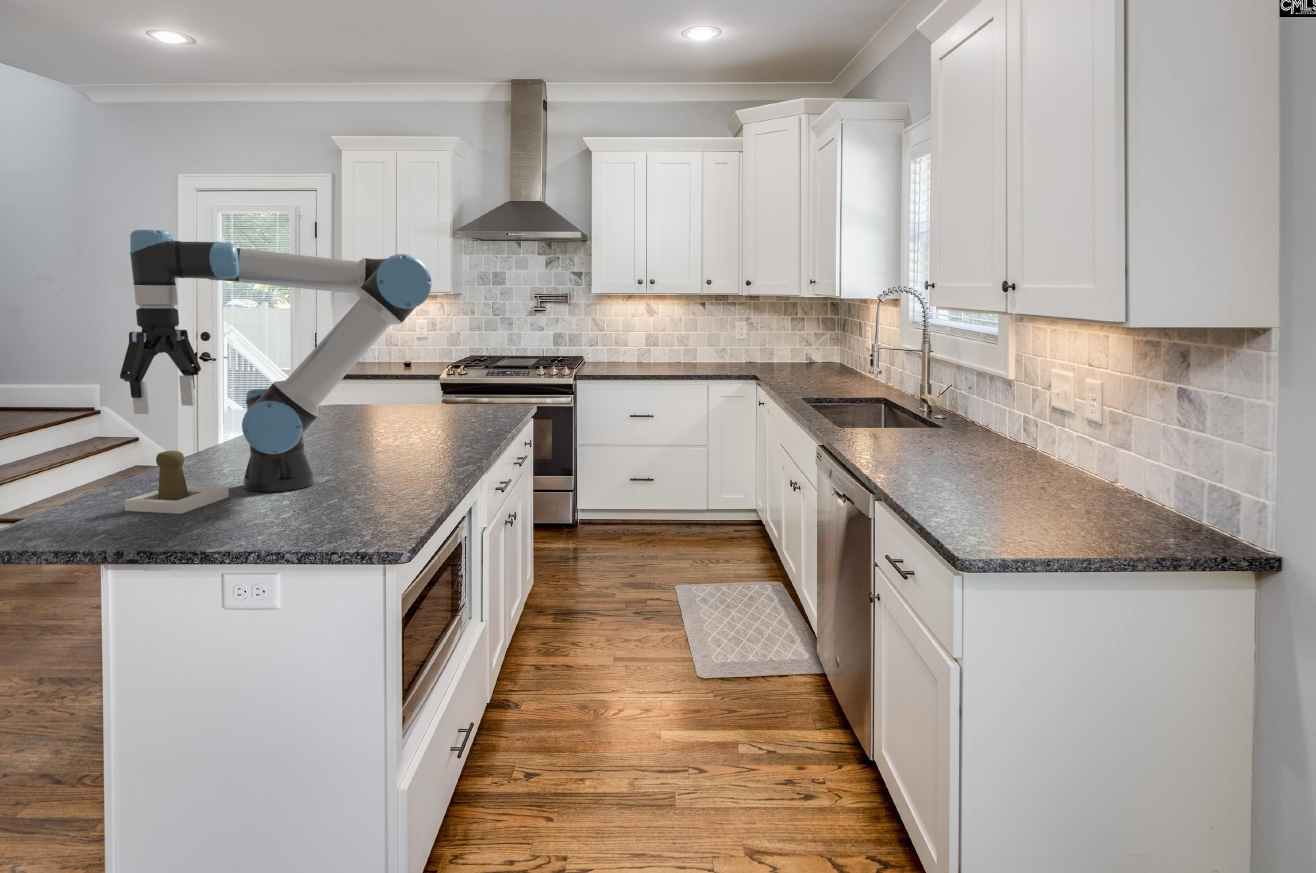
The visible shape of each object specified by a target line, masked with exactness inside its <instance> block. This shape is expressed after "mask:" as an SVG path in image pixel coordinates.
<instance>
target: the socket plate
mask: <svg viewBox="0 0 1316 873" xmlns="http://www.w3.org/2000/svg"><path fill="white" fill-rule="evenodd" d="M186 486H187V490H188V494H189V497H186V498H183V499H180V500H177V501H175V500H158V489H157V490H154V491H152V492H148V493H143V494H141V495H138V496H135V497H134V496H133V497H131V498H128V499H124V500H123V503H124V505H123V506H124V512H139V513H140V512H141V513H142V512H144V513H156V514H157V513H159V514H160V513H161V514H185V513H188V512H190V511H194V510H196V509H200V508H203V507H204V506H207V505H211V504H214V503H217V502H219V501H221V500H225V499H227V498H229V487H228V486H227V487H224V486H203V485H186Z"/></svg>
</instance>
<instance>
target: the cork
mask: <svg viewBox="0 0 1316 873" xmlns="http://www.w3.org/2000/svg"><path fill="white" fill-rule="evenodd" d="M184 462H185V456H184V454H183V452H181V451H180V450H179V451H178V450H166V451H162V452H159V453H157V455H156V457H155V463H156V465H157V466H158V467H159V475H158V488H157V490H158V500H175V501H177V500H180V499H183V498H186V497H189V494H188V490H187V486H188V485H187V483H186V478H185V474H184V469H183V464H184Z"/></svg>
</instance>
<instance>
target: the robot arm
mask: <svg viewBox="0 0 1316 873" xmlns="http://www.w3.org/2000/svg"><path fill="white" fill-rule="evenodd" d="M129 235H130V236H129V237H130V239H129V241H130V243H129V245H130V252H129V256H130V261H131V271H132V281H133V288H134V299H135V300H134V302H135V305H136V306H138V307H139V308H136V309H135V315H136V325H137V326H138V327H141V331H130V332H129V333H128V344H127V349H126V352H125V356H124V359H123V363H122V367H121V370H120V373H119V378H120V379H121V380H124V382H129V388H130V389H129V390H130V397H131V398H132V404H133V405H132V406H133V414H134V415H149V414H150V412H149V402H148V400H149V399H148V387H147V381H143V380H144V377H145V376H146V374H147V371H148V370H149V368H150V367H151V364H152V362H153V360H154V358H155V356H157V355H158V354H163V353H165V354H167V355H168V357H170V359H171V361H172V362H173V363H174V364H175V366H176V368H177V369H178V370H179V372H180V373H181V375H179V389H180V402H181V406H186V407H187V406H189V407H191V406H192V407H194V406H196V400H195V399H196V398H195V395H196V394H195V388H196V386H195V376H198V375H199V374H200V372H201V370H202V368H201V365H200V363H199V360H198V358H197V355H196V353H195V351H194V349H193V345H191V342H190V340H189V334H188V330H187V329H176V327H178V326H179V325H180V317H179V310H178V309H177V308H176V307H175V306H178V304H179V303H178V302H179V301H178V293H177V292H178V291H177V284H176V279H205V280H206V279H207V280H210V281H226V282H234V283H246V284H255V285H257V284H258V285H267V286H277V287H285V288H296V289H304V290H315V291H322V292H323V291H325V292H332V293H333V292H334V293H343V294H354V295H357V296H358V297H359V298H358V300H357V301H356V302H355V304H353V306H352V307H351V308H350V309H349V310H348V311H347V312H346V314H344V316H343V317H342V318H341V319H340V320H339V321H338V322H337V323H336V324H335V326H334V327H333V328H332V329H331V330H330V331H329V332H328V333H327V335H325V336H324V337H323V339H321V341H320V342H319V343H318V344H317V345H316V347H314V349H312V351H311V352H310V353H309V354H308V355H307V356H306V357H305V359H304V360H303V361H302V362H301V363H300V364H299V365H298V366H297V367H296V368H295V370H294V371H293V372H292V373H291V374H290V375H289V376H288V377H287V378H286V379H285V380H277V381H273V383H272V384H271V385H270V386H269V387H268V388H257V389H256V388H254V389H250V390H248V391H247V392H246V399H245V404H246V409H247V411H246V412H245V414H244V416H243V418H242V420H241V421H242V422H241V429H242V434H243V436H244V438H245V440H246V442H247V443H248V444H249V454H250V455H249V460H248V462H247V465H246V466H247V467H246V470H245V473H244V476H243V484H244V485H243V487H244V489H245V490H247V491H250V492H258V493H259V492H261V493H273V492H274V493H276V492H287V491H293V490H299V489H304V488H307V487H310V486H313V485H314V484H315V479H314V478H315V477H314V476H315V475H314V472H313V470H312V468H311V465H310V462H309V460H308V458H307V455H306V452H305V442H304V433H305V432H306V431H307V429H308V428H309V427H310V426H311V425H312V424H313V423H314V422H315V421H316V420H317V418H318V417H319V412H320V411H319V406H320V404H321V403H323V401H324V399H326V398H327V396H329V394H330V393H331V392H332V391H333V390H334V388H336V386H337V385H338V384H339V383H340V382H341V381H342V380H343V379H344V377H345V376H346V375H347V374H348V373H349V372H350V371H351V369H353V368H354V366H356V364H357V363H358V362H359V361H360V360H361V359H362V357H363V356H365V354H366V353H367V352H368V351H369V350H370V349H371V348H372V346H374V344H375V343H376V342H377V341H378V339H379V338H380V337H381V336H382V335H383V334H384V333H385V332H386V330H388V329H389V327H390V326H392V325H393V326H394V325H401V324H403V323H404V321H405V320H406V319H407V318H408V317H409V315H410V314H411V313H413V311H414V310H415V309H416V308H417V307H419V306H421V305H422V304H423V303H424V302H426V300H427V299H428V298H429V295H430V294H431V290H432V276H431V274H430V271H429V270H428V268H427V266H426V265H425V264H424V263H423V261H421V260H419V258H417V257H414V256H413V255H409V254H406V253H399V254H394V255H391V256H389V257H388V258H367V257H362V258H361V259H360V260H358V261H354V260H347V259H339V258H338V259H337V258H328V257H321V256H320V257H319V256H311V255H302V254H294V253H286V252H277V251H268V250H257V249H250V248H242V247H241V248H240V247H239V248H238V247H237V246H236V244H235V243H231V242H223V241H182V240H179V241H178V240H174V238H173V237H172V236H173V235H172V233H171V232H170V231H167V230H154V229H137V230H136V229H135V230H133V231H132V232H131V233H130V234H129Z"/></svg>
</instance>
